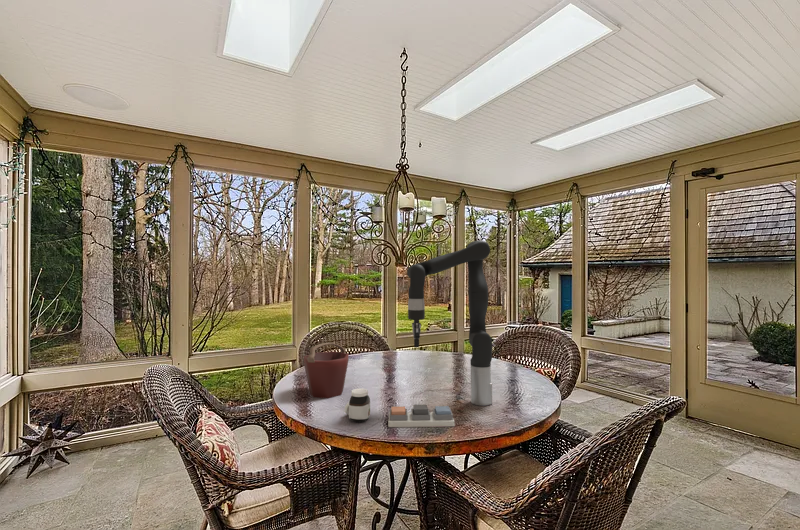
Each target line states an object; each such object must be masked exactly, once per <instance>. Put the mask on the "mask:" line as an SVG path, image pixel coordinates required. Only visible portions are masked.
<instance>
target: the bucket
mask: <svg viewBox="0 0 800 530" xmlns="http://www.w3.org/2000/svg"><path fill="white" fill-rule="evenodd" d="M328 345H332V346H335V347H337V348H338V349H339V350H340V351H323V352H322V351H321V352H316V350H317V349H319V348H321V347H323V346H328ZM349 355H350V354H349V353H346V349H345V348H344V346H342V345H340V344H338V343H334V342H323V343H319V344H316V345H313V346H312V347H310V348H309V354H307V355H304V356H303V365H304V371H305V375H306V381H307V387H308V390H309V394H310V395H311V396H312V398H314V399H315V398H317V399H319V398H320V399H330V398H335V397H340V396H341V395H342V394H343V393H344V392H343V391H344V388H345V383H346V382H345V381H346V376H347V370H348V365H349Z"/></svg>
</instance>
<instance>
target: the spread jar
mask: <svg viewBox="0 0 800 530" xmlns="http://www.w3.org/2000/svg"><path fill="white" fill-rule="evenodd" d="M350 392H351V396H350V398H349V401H347V403H346V404H345V406H344V410H343V411H344V414H346V415H347V416H348V418H349V420H350V421H351V422H354V423H364V422H367V421H368V420H369V419H370V415H371V397H370V396H369V391H368V389H366V388H354V389H352V390H351V391H350Z"/></svg>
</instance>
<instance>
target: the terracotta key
mask: <svg viewBox="0 0 800 530" xmlns="http://www.w3.org/2000/svg"><path fill="white" fill-rule="evenodd" d="M391 409H392V415H406V411H405V409H406V406H391Z"/></svg>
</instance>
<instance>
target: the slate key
mask: <svg viewBox="0 0 800 530" xmlns="http://www.w3.org/2000/svg"><path fill="white" fill-rule="evenodd" d="M434 409H435V413H436V415H444V414H451V411H452V410H451V411H450V409H451V408H450V407H449V405H444V406H443V405H442V406H441V405H435V406H434Z"/></svg>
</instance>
